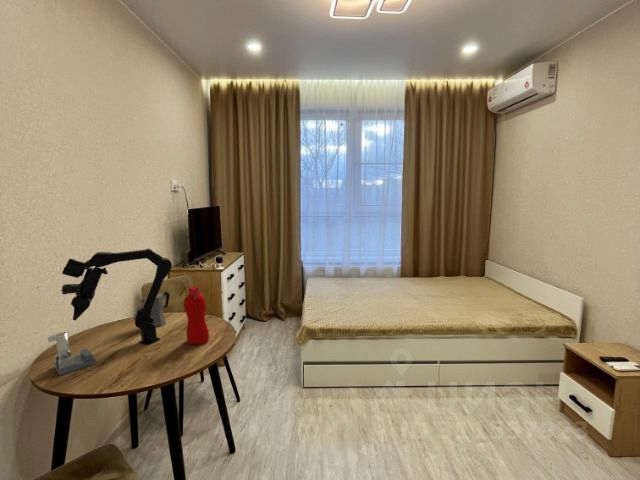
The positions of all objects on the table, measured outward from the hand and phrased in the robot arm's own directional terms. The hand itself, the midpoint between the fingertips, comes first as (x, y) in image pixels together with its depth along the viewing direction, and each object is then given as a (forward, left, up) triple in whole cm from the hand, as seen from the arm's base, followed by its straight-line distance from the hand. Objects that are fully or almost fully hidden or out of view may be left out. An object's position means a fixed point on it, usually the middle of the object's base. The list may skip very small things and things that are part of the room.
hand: (76, 316), depth 144 cm
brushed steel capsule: (-6, +10, -15) cm, 19 cm away
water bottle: (-38, -29, -17) cm, 50 cm away
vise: (-7, +6, -17) cm, 20 cm away
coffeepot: (-1, -38, -17) cm, 41 cm away
